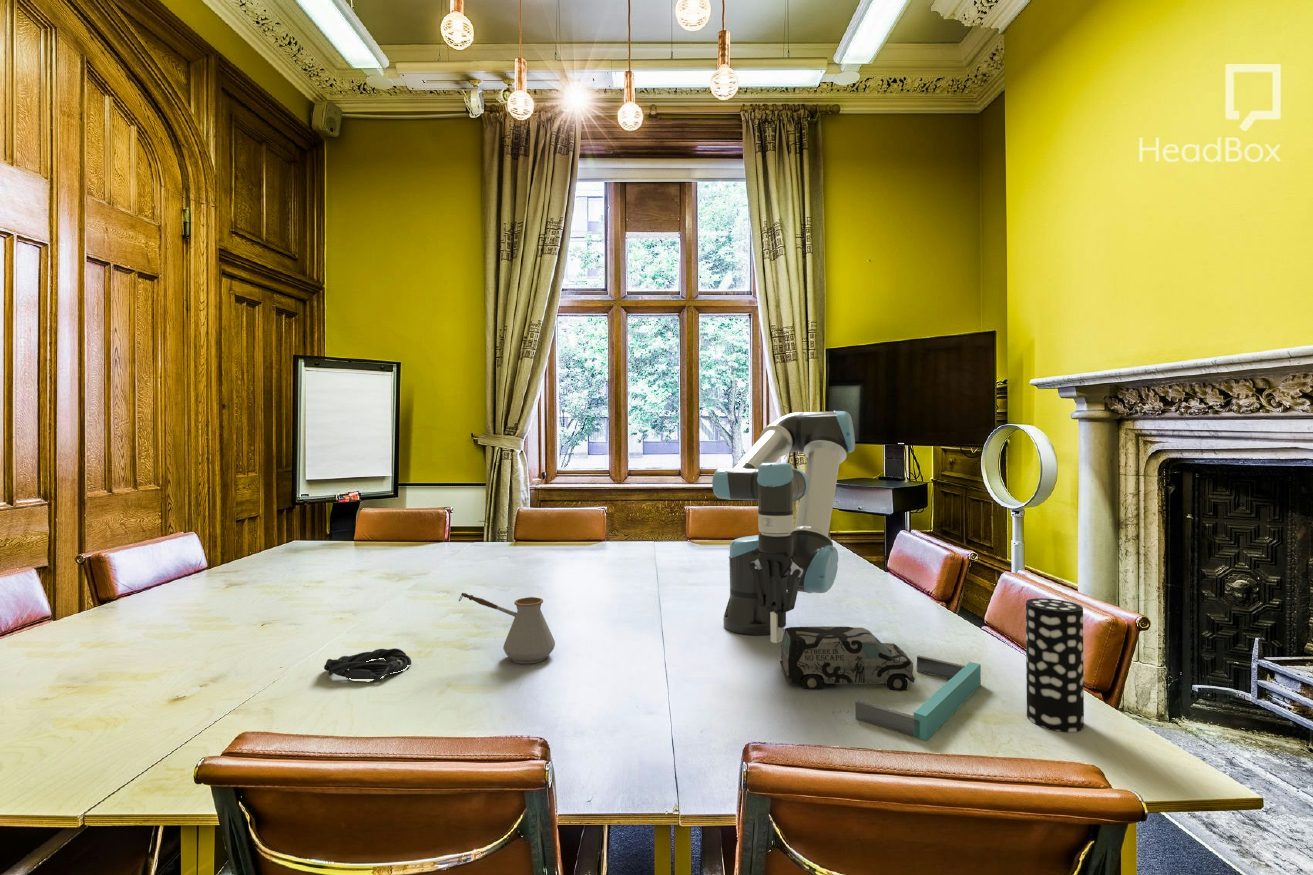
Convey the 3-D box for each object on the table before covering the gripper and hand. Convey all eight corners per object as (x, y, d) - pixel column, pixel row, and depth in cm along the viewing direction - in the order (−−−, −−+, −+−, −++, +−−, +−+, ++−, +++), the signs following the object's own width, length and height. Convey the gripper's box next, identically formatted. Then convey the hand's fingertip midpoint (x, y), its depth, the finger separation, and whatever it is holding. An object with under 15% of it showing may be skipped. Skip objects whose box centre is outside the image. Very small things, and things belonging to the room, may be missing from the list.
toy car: (916, 692, 121) (916, 640, 121) (786, 691, 122) (786, 639, 122) (898, 671, 131) (898, 623, 131) (779, 670, 133) (778, 623, 133)
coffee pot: (558, 648, 148) (557, 584, 148) (551, 666, 136) (550, 597, 136) (467, 650, 147) (466, 586, 147) (452, 668, 136) (451, 599, 136)
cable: (308, 682, 130) (308, 661, 130) (352, 658, 144) (352, 639, 144) (384, 686, 127) (383, 665, 127) (421, 661, 141) (421, 642, 141)
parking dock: (855, 718, 110) (855, 695, 110) (918, 669, 132) (918, 650, 132) (926, 740, 102) (926, 716, 102) (980, 684, 124) (980, 664, 124)
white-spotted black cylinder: (1016, 711, 112) (1015, 599, 112) (1060, 709, 112) (1059, 597, 112) (1049, 733, 103) (1048, 612, 103) (1096, 730, 104) (1095, 610, 104)
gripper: (741, 532, 139) (742, 638, 139) (793, 538, 130) (794, 652, 130) (759, 528, 145) (761, 630, 145) (811, 534, 136) (812, 643, 136)
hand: (776, 640), depth 138 cm, fingers closed
